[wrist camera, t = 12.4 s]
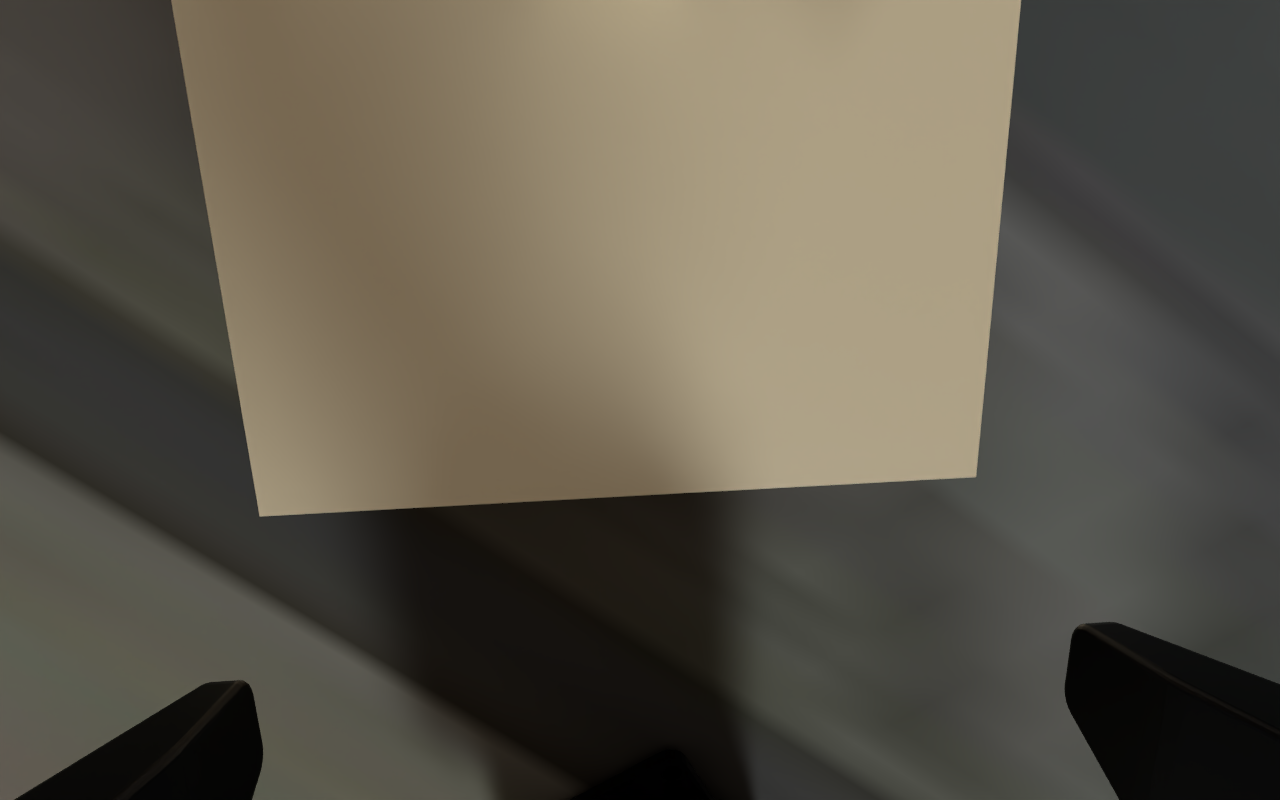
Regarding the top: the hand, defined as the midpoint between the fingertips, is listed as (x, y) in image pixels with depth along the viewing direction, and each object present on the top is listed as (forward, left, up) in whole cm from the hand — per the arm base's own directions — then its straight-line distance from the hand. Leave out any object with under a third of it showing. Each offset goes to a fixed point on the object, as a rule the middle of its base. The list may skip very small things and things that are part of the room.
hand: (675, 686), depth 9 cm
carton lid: (+2, +5, -8) cm, 10 cm away
